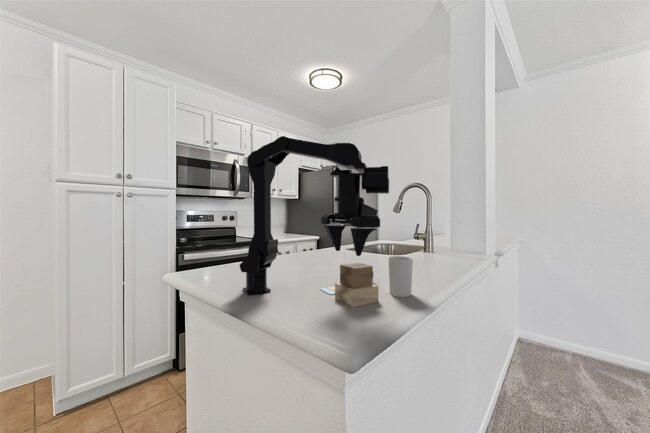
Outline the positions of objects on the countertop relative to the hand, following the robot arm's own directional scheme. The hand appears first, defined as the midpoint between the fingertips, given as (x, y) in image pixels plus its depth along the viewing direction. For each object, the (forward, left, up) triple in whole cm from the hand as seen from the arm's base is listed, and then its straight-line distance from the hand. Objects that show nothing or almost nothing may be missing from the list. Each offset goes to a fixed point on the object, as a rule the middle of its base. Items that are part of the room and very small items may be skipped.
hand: (347, 253), depth 71 cm
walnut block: (+2, +2, -8) cm, 8 cm away
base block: (+2, +2, -12) cm, 12 cm away
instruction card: (-8, +3, -12) cm, 15 cm away
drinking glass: (+4, +16, -12) cm, 20 cm away
